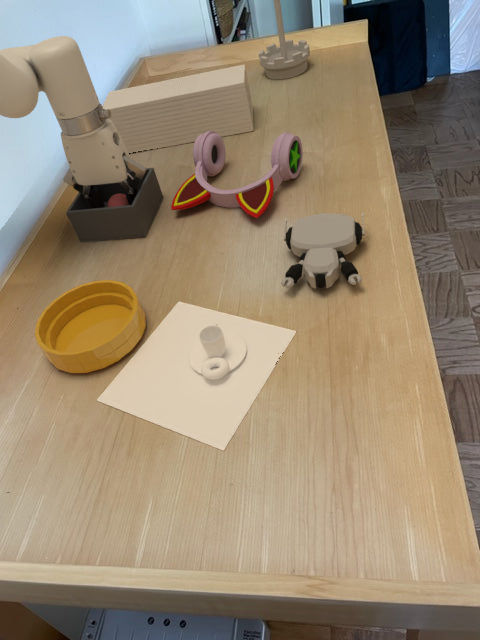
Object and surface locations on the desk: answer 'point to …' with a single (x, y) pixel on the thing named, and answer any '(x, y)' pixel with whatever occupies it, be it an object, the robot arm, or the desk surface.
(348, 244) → the robot toy
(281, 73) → the flag stand
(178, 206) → the headphones
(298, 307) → the desk surface
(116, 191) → the bin
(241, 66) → the stack of papers
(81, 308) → the bowl
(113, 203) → the toy ball
